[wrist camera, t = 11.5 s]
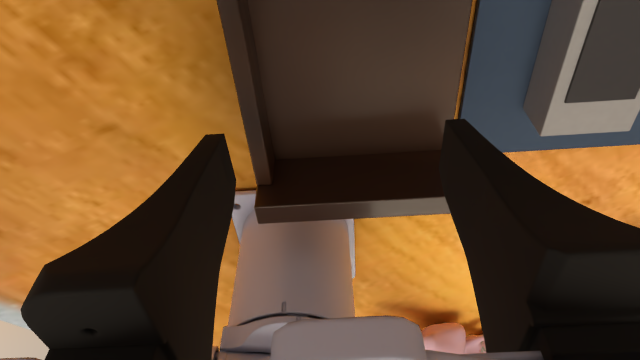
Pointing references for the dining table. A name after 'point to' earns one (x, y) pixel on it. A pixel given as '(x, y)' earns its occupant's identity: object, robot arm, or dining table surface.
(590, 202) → the dining table surface
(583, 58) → the remote
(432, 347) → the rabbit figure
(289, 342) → the robot arm
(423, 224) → the dining table surface
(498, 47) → the desk mat
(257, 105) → the dark wooden tray
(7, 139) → the dining table surface
